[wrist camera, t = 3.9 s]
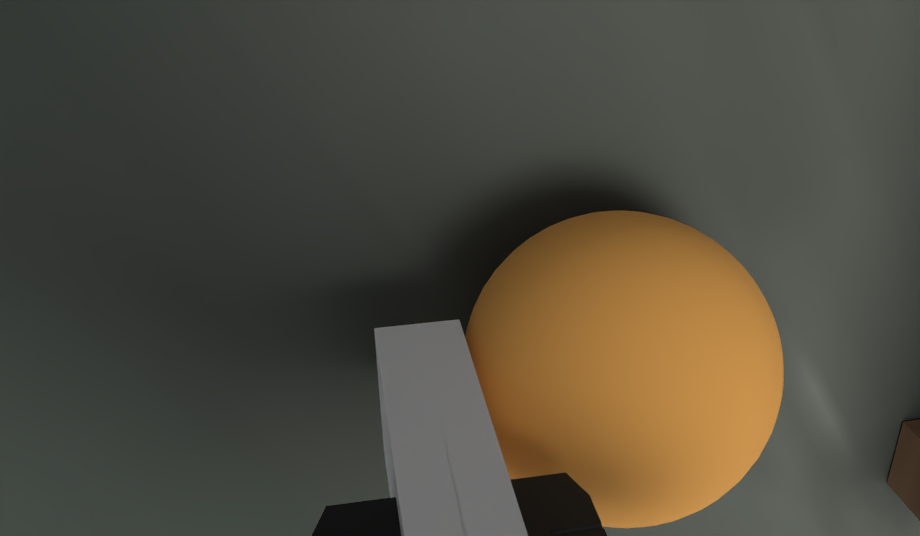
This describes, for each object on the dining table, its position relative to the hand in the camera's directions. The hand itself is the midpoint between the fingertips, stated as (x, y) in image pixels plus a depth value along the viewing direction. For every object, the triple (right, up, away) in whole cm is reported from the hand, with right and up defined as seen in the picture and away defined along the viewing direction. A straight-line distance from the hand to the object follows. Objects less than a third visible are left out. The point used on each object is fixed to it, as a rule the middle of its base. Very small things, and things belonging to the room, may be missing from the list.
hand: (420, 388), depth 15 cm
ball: (+4, 0, 0) cm, 4 cm away
